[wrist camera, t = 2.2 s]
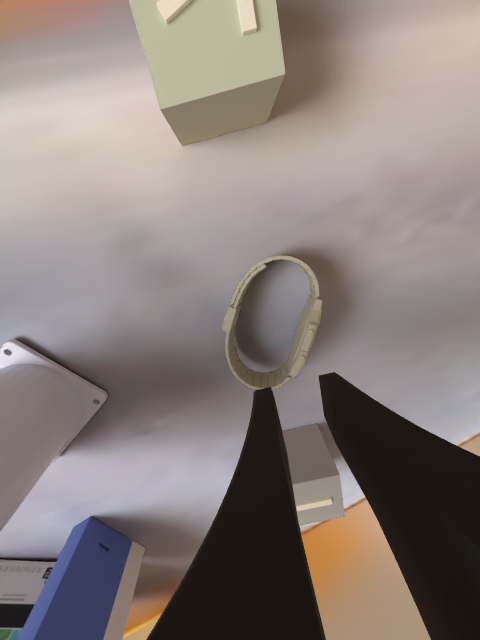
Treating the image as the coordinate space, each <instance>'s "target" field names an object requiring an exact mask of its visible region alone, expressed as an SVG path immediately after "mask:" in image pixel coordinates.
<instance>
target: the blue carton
mask: <svg viewBox="0 0 480 640" xmlns="http://www.w3.org/2000/svg"><path fill="white" fill-rule="evenodd" d="M144 551H145V548H144V547H142V546H141V545H139V544H137V543H136V542H134V541H132V540H130V539H129V538H127V537H125V536H123V535H122V534H120V533H118V532H116V531H115V530H113V529H111V528H109V527H108V526H106V525H104V524H103V523H101V522H99V521H97V520H96V519H94V518H92V517H90V518H88V519H86V520H85V521H83V522H82V523H80V524H79V525H77V526H75V527H74V528H73V530H72V532H71V534H70V536H69V538H68V540H67V542H66V544H65V546H64V548H63V550H62V552H61V553H60V555H59V557H58V559H57V561H56V563H55V565H54V567H53V569H52V571H51V573H50V575H49V577H48V579H47V581H46V583H45V585H44V587H43V589H42V591H41V593H40V595H39V597H38V599H37V601H36V603H35V605H34V607H33V609H32V611H31V613H30V615H29V617H28V619H27V621H26V623H25V625H24V627H23V629H22V631H21V633H20V635H19V637H18V639H17V640H122V639H123V635H124V631H125V627H126V623H127V619H128V615H129V611H130V607H131V603H132V599H133V595H134V591H135V587H136V583H137V579H138V575H139V571H140V567H141V563H142V559H143V555H144Z"/></svg>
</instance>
